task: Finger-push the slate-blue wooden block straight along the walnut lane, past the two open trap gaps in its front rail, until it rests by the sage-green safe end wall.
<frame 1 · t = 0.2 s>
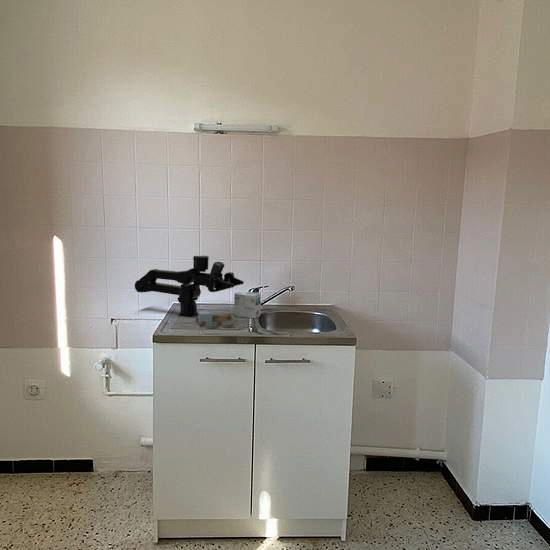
hand: (238, 284, 208), 17 cm above the counter, tool horizontal, fingers open, 9 cm apart
slate block: (205, 323, 206), on the counter
light bulb box: (247, 316, 221), on the counter
trap lane: (216, 322, 208), on the counter
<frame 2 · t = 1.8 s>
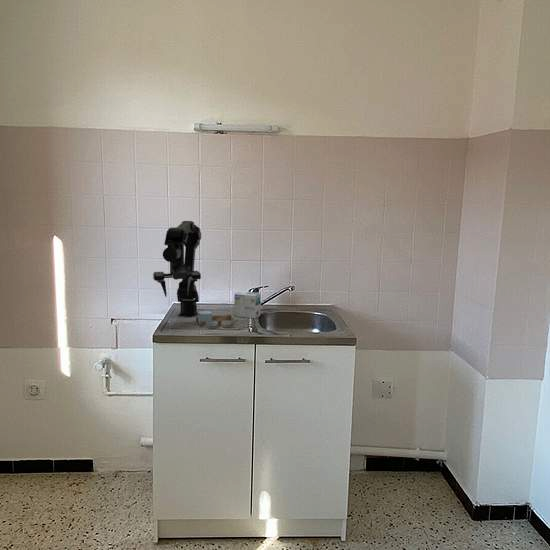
hand: (177, 296, 200), 13 cm above the counter, tool pointing down, fingers open, 9 cm apart
nothing on the counter moved.
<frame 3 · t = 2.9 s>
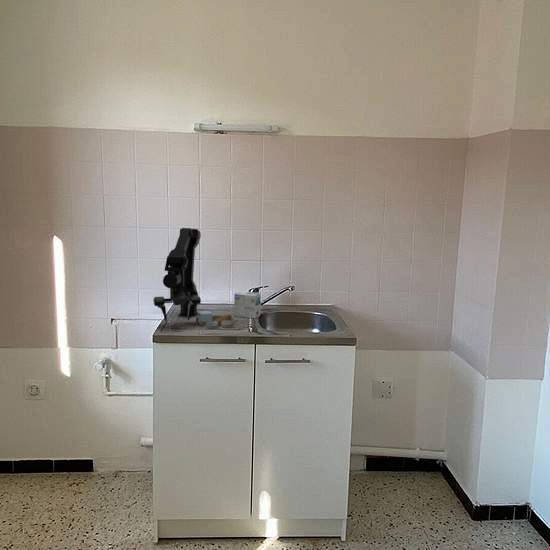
hand: (177, 320, 202), 2 cm above the counter, tool pointing down, fingers open, 9 cm apart
nothing on the counter moved.
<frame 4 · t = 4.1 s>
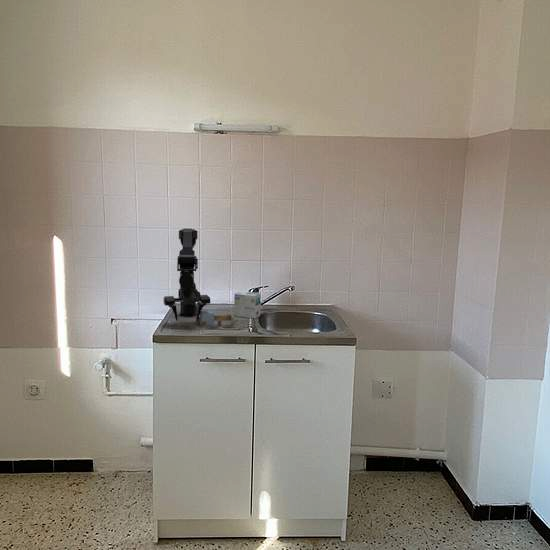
hand: (187, 320, 203), 2 cm above the counter, tool pointing down, fingers open, 8 cm apart
slate block: (206, 323, 206), on the counter, touching gripper
everything else where it was.
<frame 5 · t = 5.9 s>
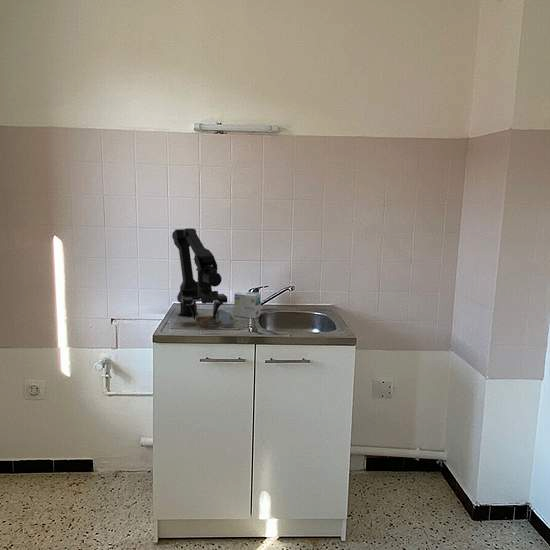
hand: (204, 318, 205), 2 cm above the counter, tool pointing down, fingers open, 8 cm apart
slate block: (222, 322, 209), on the counter, touching gripper
everything else where it was.
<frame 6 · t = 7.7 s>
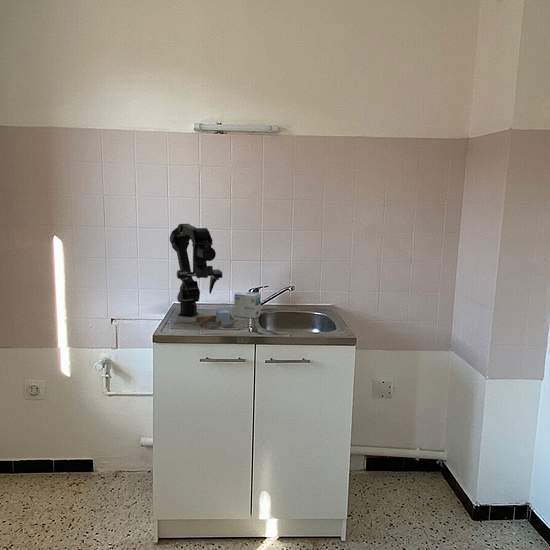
hand: (199, 293, 207), 12 cm above the counter, tool pointing down, fingers open, 9 cm apart
slate block: (223, 322, 209), on the counter
everything else where it was.
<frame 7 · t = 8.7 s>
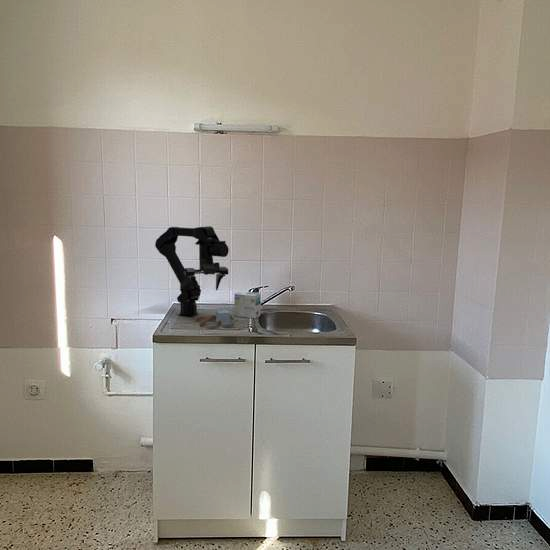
hand: (206, 290, 213), 13 cm above the counter, tool pointing down, fingers open, 9 cm apart
nothing on the counter moved.
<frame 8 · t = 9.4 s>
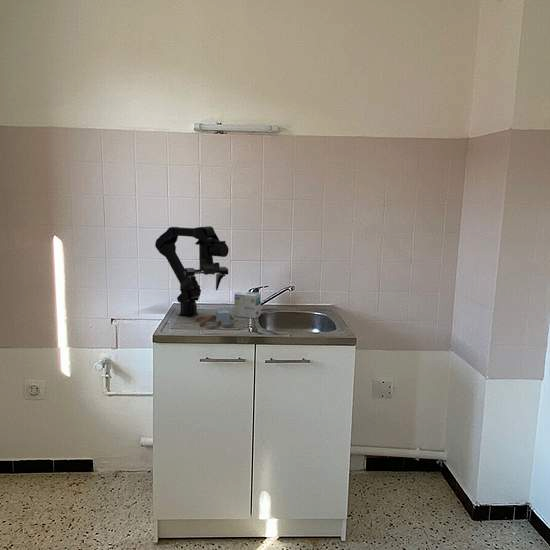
hand: (206, 290, 213), 13 cm above the counter, tool pointing down, fingers open, 9 cm apart
nothing on the counter moved.
at the end: slate block 0.3 cm from the target spot on the trap lane, point 0.0 cm above the trap lane's base; slate block tilted 0°; slate block moved 7.8 cm from its start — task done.
